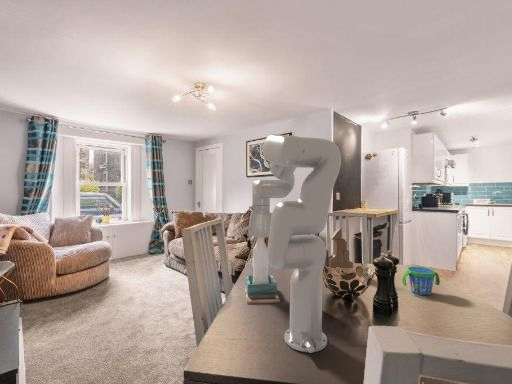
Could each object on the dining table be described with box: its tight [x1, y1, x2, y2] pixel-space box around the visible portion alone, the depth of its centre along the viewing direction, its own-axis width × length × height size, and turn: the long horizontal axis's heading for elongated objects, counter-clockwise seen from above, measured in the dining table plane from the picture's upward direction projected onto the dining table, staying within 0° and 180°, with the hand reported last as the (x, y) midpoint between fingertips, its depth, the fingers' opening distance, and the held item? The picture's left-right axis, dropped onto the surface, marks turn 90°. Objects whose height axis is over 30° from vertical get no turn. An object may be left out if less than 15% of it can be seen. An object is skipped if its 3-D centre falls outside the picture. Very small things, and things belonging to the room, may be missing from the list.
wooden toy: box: [324, 226, 354, 269], centre depth 144 cm, size 15×7×25 cm, turn 109°
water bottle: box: [251, 236, 270, 284], centre depth 116 cm, size 7×7×25 cm
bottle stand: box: [244, 274, 281, 305], centre depth 115 cm, size 16×13×6 cm
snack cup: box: [401, 266, 441, 296], centre depth 118 cm, size 16×10×10 cm
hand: (260, 248), depth 116 cm, fingers open, 9 cm apart
